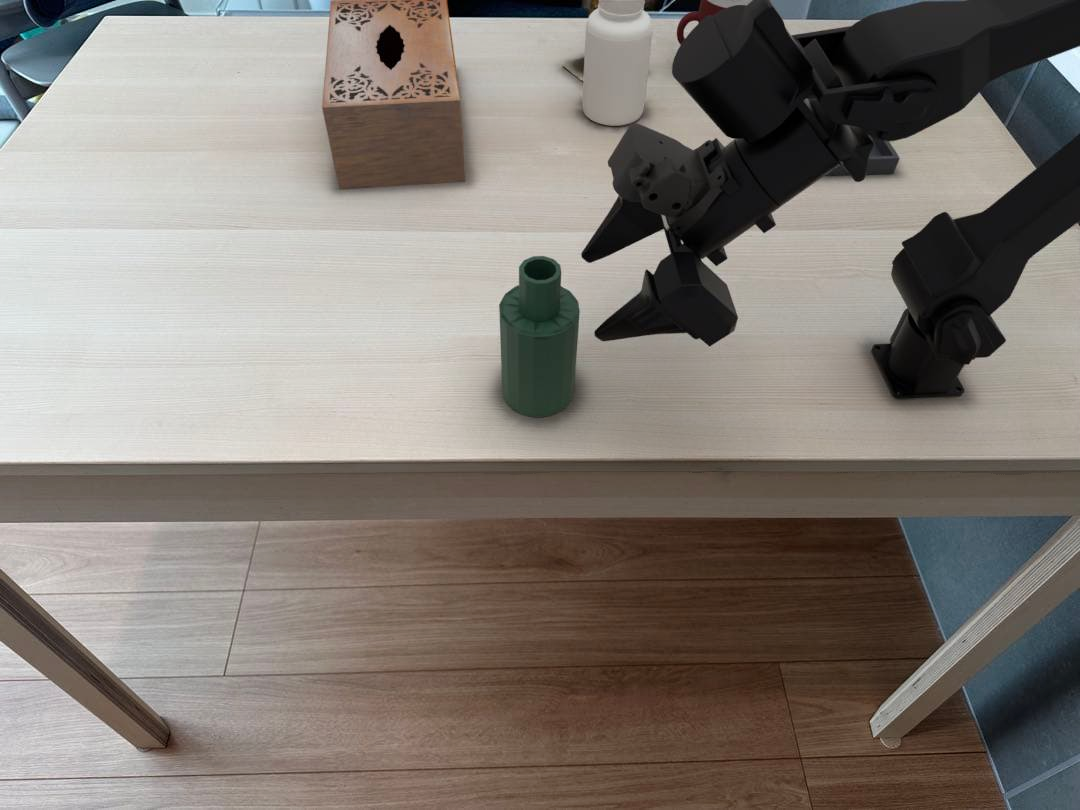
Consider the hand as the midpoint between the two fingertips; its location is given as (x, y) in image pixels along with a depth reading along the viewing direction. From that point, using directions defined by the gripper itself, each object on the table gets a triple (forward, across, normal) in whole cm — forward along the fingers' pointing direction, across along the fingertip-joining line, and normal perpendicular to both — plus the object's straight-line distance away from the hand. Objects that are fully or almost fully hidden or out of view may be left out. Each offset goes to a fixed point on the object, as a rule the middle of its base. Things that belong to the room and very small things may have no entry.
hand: (590, 296), depth 63 cm
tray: (-16, -40, +32) cm, 54 cm away
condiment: (+2, -58, +14) cm, 60 cm away
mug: (-9, -57, +25) cm, 63 cm away
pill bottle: (+2, -47, +14) cm, 49 cm away
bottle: (+11, 0, +5) cm, 12 cm away
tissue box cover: (+21, -45, -5) cm, 50 cm away
